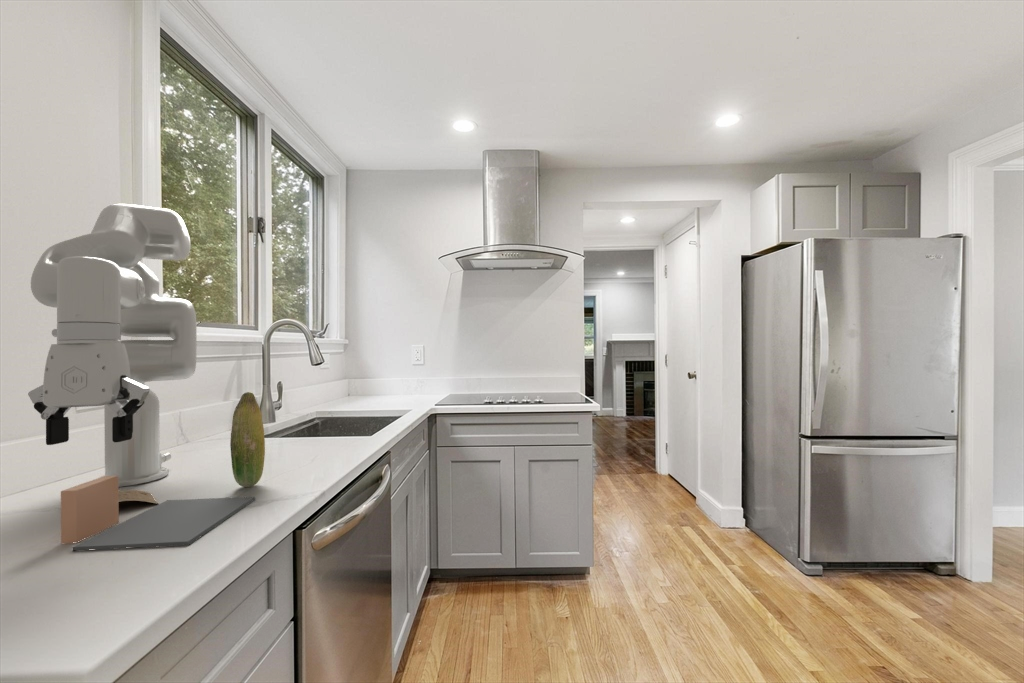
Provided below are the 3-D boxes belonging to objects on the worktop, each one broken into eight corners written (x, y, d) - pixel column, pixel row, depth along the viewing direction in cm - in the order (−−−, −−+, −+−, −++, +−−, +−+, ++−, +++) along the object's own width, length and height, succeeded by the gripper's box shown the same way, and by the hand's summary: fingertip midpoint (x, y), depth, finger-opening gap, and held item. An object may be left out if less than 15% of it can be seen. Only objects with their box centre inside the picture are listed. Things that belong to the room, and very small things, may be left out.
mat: (167, 503, 85) (167, 500, 85) (254, 499, 86) (254, 496, 86) (72, 551, 65) (72, 547, 65) (188, 545, 66) (188, 541, 66)
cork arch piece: (59, 530, 75) (59, 513, 75) (55, 515, 81) (55, 500, 81) (167, 506, 85) (167, 492, 85) (155, 495, 92) (155, 482, 92)
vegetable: (272, 484, 96) (271, 391, 96) (248, 493, 90) (247, 394, 90) (249, 482, 98) (248, 390, 98) (224, 491, 92) (223, 393, 92)
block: (104, 523, 76) (104, 476, 76) (118, 522, 76) (118, 475, 76) (61, 544, 68) (60, 491, 68) (76, 543, 68) (76, 490, 68)
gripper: (7, 335, 68) (7, 449, 67) (129, 332, 69) (129, 444, 69) (54, 337, 75) (54, 439, 75) (163, 335, 76) (163, 435, 76)
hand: (90, 442), depth 72 cm, fingers open, 9 cm apart
